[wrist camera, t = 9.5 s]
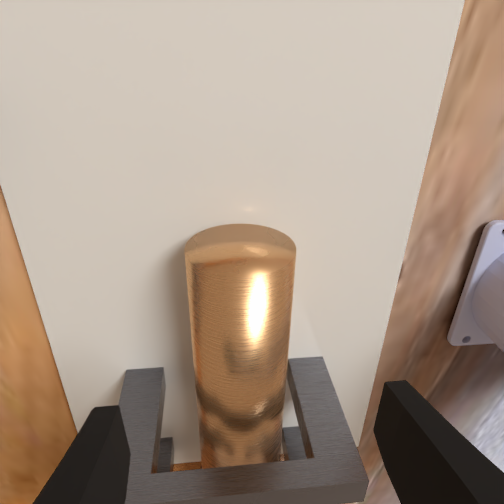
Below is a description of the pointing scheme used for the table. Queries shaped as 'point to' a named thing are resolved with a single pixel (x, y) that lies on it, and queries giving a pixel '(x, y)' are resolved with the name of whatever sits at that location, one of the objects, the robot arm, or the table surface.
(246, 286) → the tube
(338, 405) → the grey arch
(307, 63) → the hearth board
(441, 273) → the table surface
